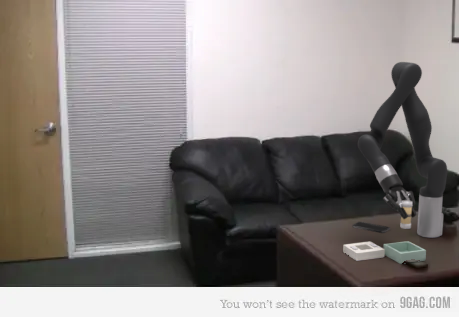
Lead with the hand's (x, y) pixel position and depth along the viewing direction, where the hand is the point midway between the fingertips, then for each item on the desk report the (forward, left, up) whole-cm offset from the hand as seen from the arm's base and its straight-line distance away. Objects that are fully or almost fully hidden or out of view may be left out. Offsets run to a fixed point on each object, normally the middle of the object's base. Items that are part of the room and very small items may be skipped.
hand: (410, 217), depth 211 cm
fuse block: (+13, -9, -16) cm, 23 cm away
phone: (-8, -37, -17) cm, 42 cm away
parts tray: (0, -2, -16) cm, 16 cm away
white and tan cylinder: (0, -2, -5) cm, 5 cm away
